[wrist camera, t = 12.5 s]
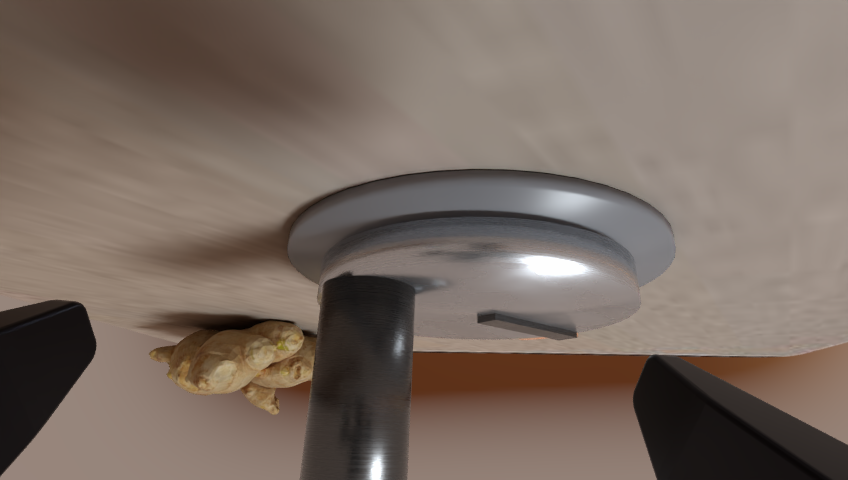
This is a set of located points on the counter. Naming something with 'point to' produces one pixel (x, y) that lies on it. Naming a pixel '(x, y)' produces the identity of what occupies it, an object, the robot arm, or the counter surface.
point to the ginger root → (242, 361)
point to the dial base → (485, 212)
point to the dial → (440, 319)
